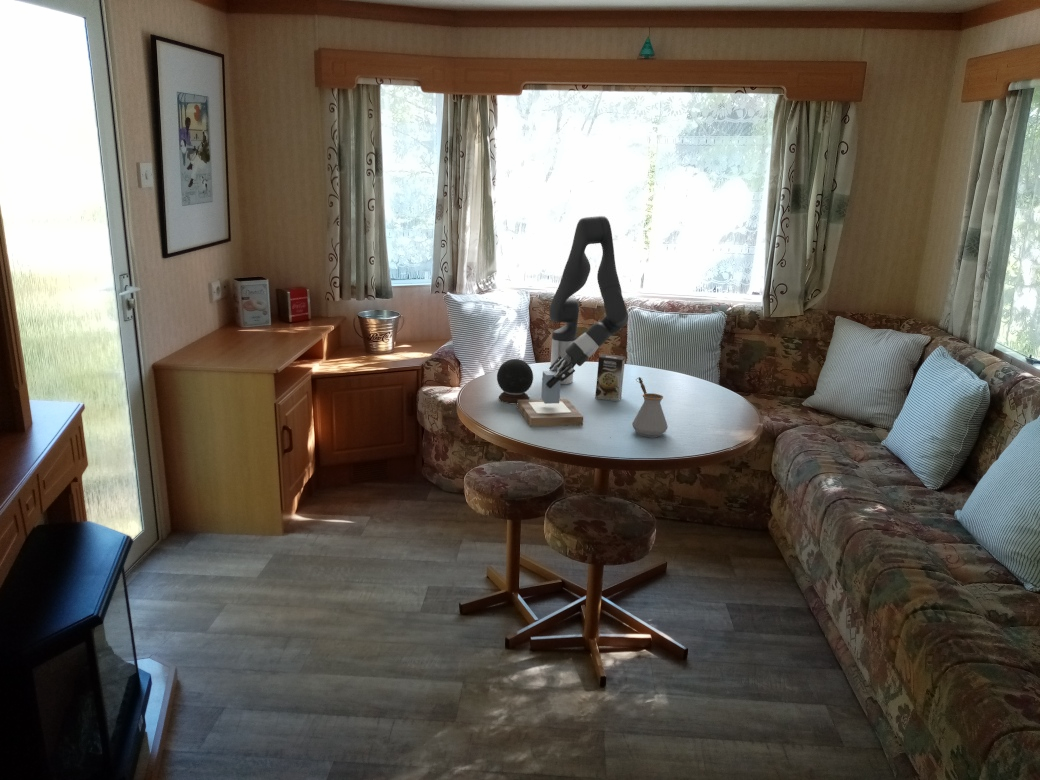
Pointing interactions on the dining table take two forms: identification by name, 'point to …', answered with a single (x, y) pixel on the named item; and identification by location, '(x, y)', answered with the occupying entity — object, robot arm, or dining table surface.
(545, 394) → the slate block
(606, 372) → the coffee box
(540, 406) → the wooden board
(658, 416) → the coffee pot
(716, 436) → the dining table surface
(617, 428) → the dining table surface
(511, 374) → the black ball on pedestal
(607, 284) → the robot arm
